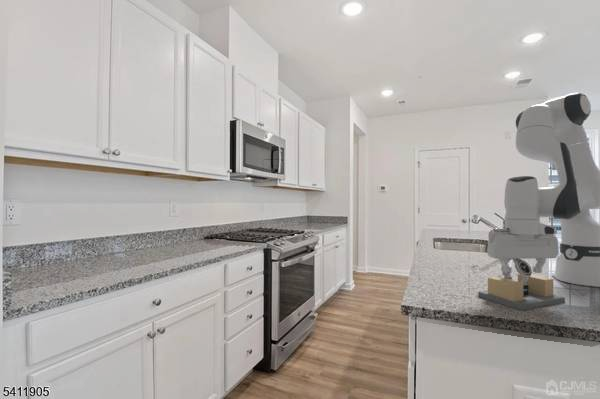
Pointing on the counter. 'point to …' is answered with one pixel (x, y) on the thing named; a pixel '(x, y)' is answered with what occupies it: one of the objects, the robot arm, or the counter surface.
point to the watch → (523, 270)
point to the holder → (521, 292)
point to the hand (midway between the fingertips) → (522, 272)
